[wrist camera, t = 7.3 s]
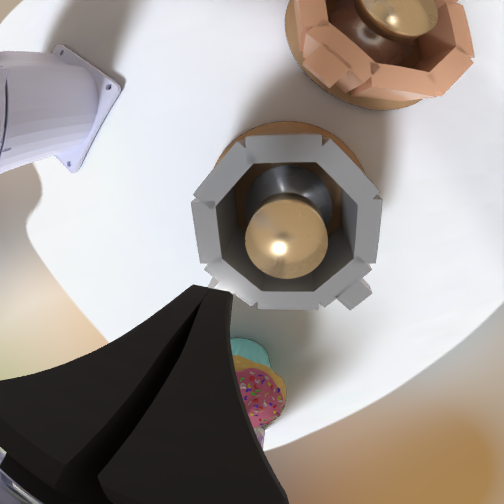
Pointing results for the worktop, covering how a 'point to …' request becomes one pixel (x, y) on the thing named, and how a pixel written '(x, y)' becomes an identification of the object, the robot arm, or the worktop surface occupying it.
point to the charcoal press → (338, 231)
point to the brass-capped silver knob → (287, 221)
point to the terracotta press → (367, 70)
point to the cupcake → (257, 382)
